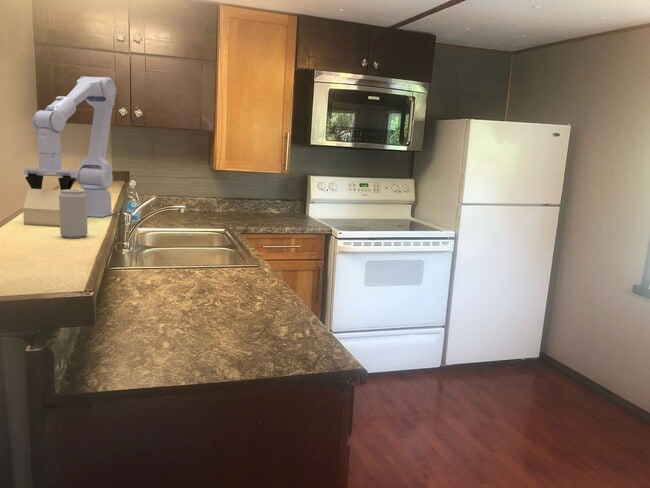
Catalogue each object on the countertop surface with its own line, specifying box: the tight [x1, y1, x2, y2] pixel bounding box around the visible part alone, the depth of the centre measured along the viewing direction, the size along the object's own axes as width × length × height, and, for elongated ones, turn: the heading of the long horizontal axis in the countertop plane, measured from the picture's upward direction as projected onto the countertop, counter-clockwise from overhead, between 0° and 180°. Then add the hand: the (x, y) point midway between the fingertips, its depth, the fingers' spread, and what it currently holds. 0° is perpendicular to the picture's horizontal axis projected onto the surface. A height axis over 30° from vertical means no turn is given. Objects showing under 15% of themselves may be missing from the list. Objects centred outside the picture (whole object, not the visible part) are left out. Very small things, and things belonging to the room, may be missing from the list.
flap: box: [22, 188, 61, 211], centre depth 154 cm, size 6×11×1 cm
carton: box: [22, 208, 60, 228], centre depth 156 cm, size 6×11×4 cm, turn 88°
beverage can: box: [59, 189, 89, 239], centre depth 140 cm, size 6×6×12 cm
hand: (51, 201), depth 158 cm, fingers open, 7 cm apart
